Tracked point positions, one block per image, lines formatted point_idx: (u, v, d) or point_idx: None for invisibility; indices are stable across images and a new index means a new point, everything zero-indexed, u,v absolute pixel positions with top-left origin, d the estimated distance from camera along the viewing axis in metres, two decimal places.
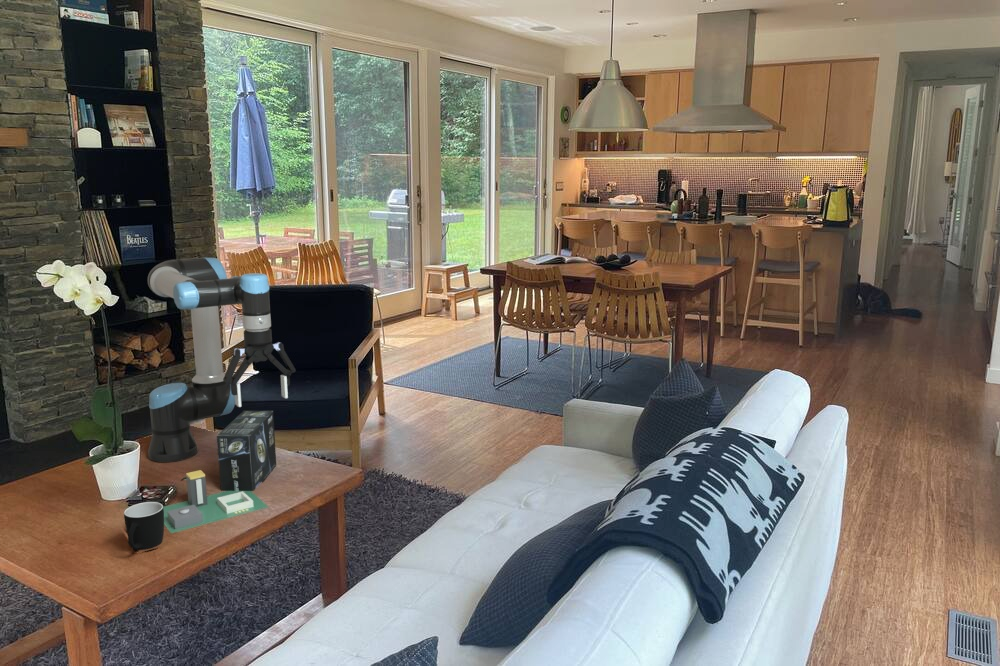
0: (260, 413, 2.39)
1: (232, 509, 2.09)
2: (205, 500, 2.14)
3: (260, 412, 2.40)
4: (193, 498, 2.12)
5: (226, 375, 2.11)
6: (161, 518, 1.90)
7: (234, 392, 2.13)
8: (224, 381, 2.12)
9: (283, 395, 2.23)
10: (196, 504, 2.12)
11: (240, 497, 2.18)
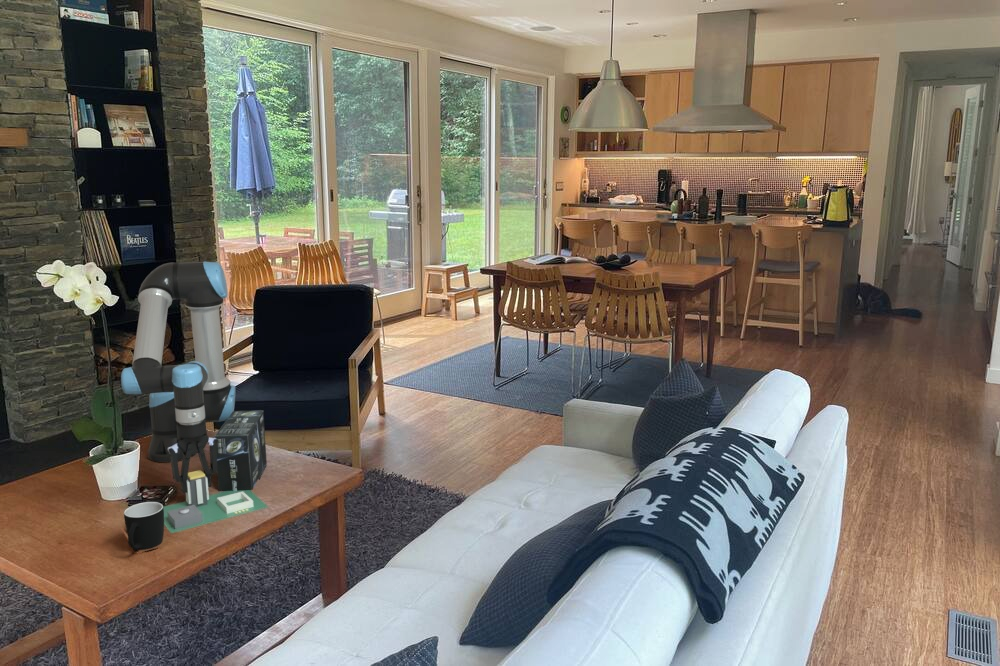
0: (251, 413, 2.39)
1: (232, 509, 2.09)
2: (205, 500, 2.14)
3: (251, 412, 2.40)
4: (193, 498, 2.12)
5: (173, 474, 2.09)
6: (161, 518, 1.90)
7: (184, 490, 2.11)
8: (174, 479, 2.10)
9: None
10: (196, 504, 2.12)
11: (240, 497, 2.18)
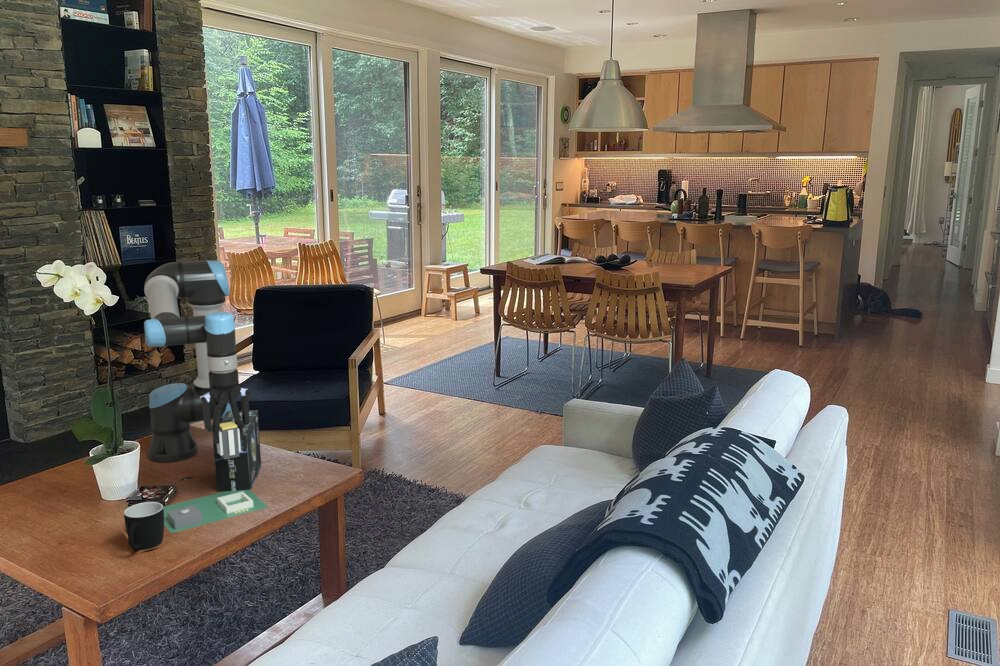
0: None
1: (232, 509, 2.09)
2: (237, 452, 2.10)
3: None
4: (225, 449, 2.08)
5: (205, 424, 2.05)
6: (161, 518, 1.90)
7: (216, 440, 2.07)
8: (206, 429, 2.06)
9: None
10: (228, 455, 2.08)
11: (240, 497, 2.18)
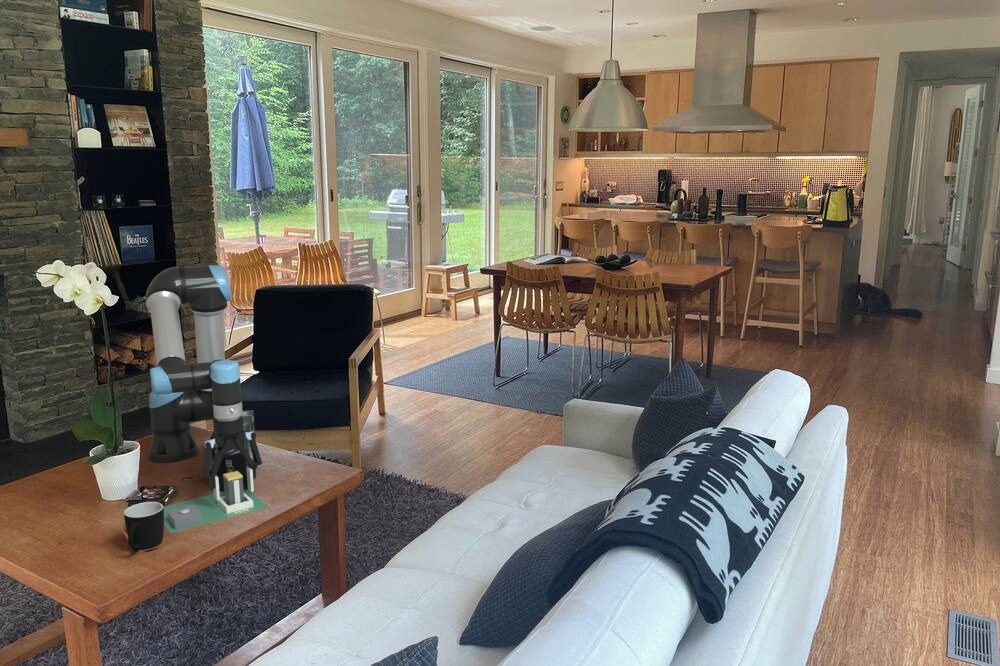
0: None
1: (232, 509, 2.09)
2: (242, 501, 2.13)
3: None
4: (231, 499, 2.11)
5: (203, 469, 2.07)
6: (161, 518, 1.90)
7: (212, 486, 2.08)
8: None
9: (249, 488, 2.16)
10: None
11: None
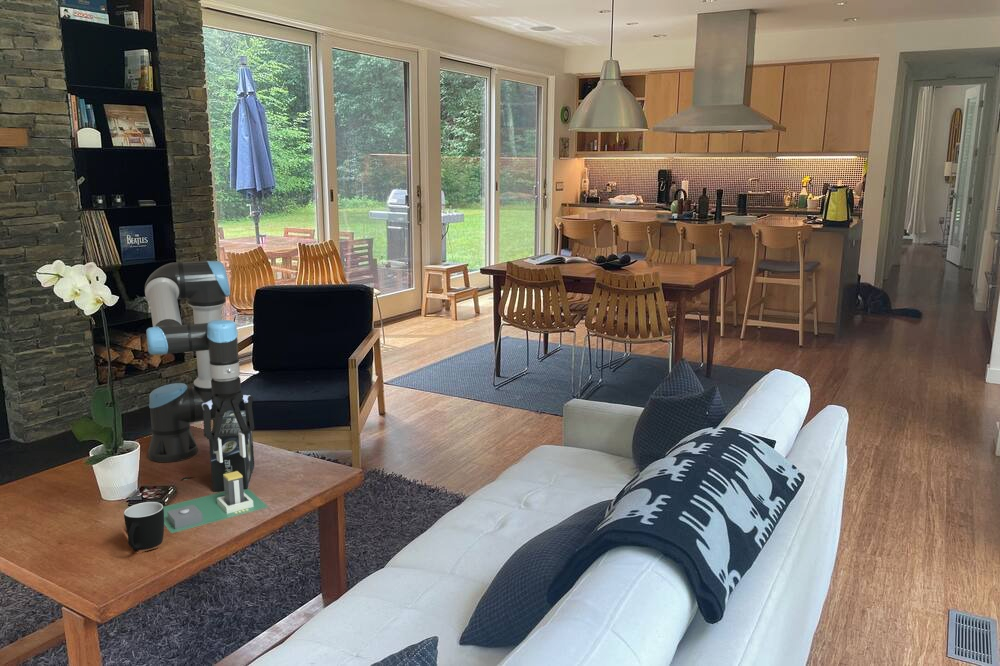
0: None
1: (232, 509, 2.09)
2: (242, 501, 2.13)
3: None
4: (231, 499, 2.11)
5: (205, 431, 2.05)
6: (161, 518, 1.90)
7: (215, 448, 2.07)
8: None
9: (241, 454, 2.13)
10: None
11: None
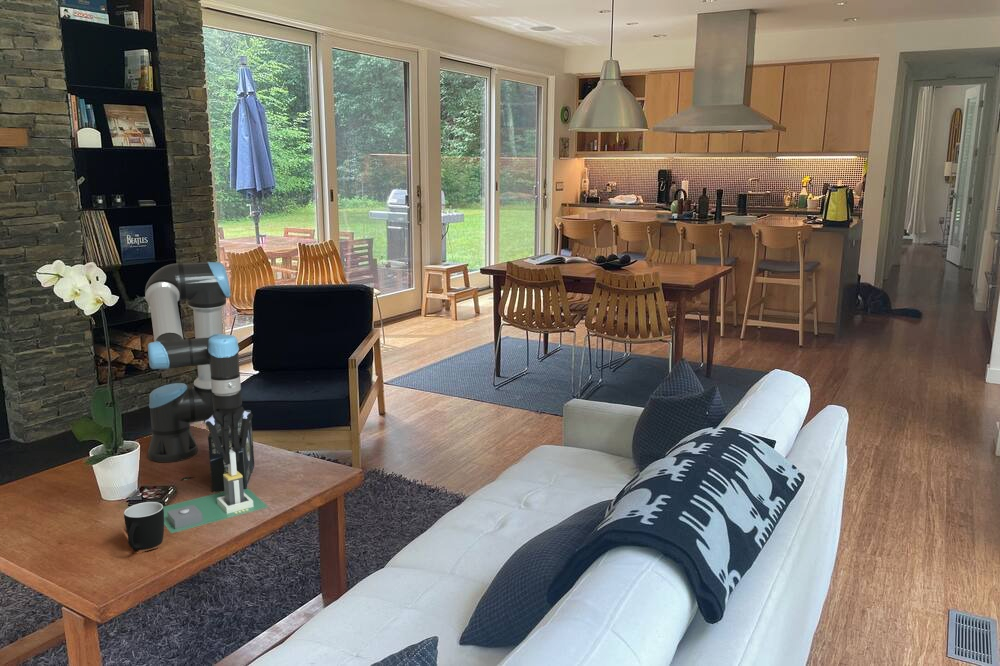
0: None
1: (232, 509, 2.09)
2: (242, 501, 2.13)
3: None
4: (231, 499, 2.11)
5: (215, 446, 2.08)
6: (161, 518, 1.90)
7: (227, 461, 2.10)
8: (217, 450, 2.09)
9: None
10: None
11: None
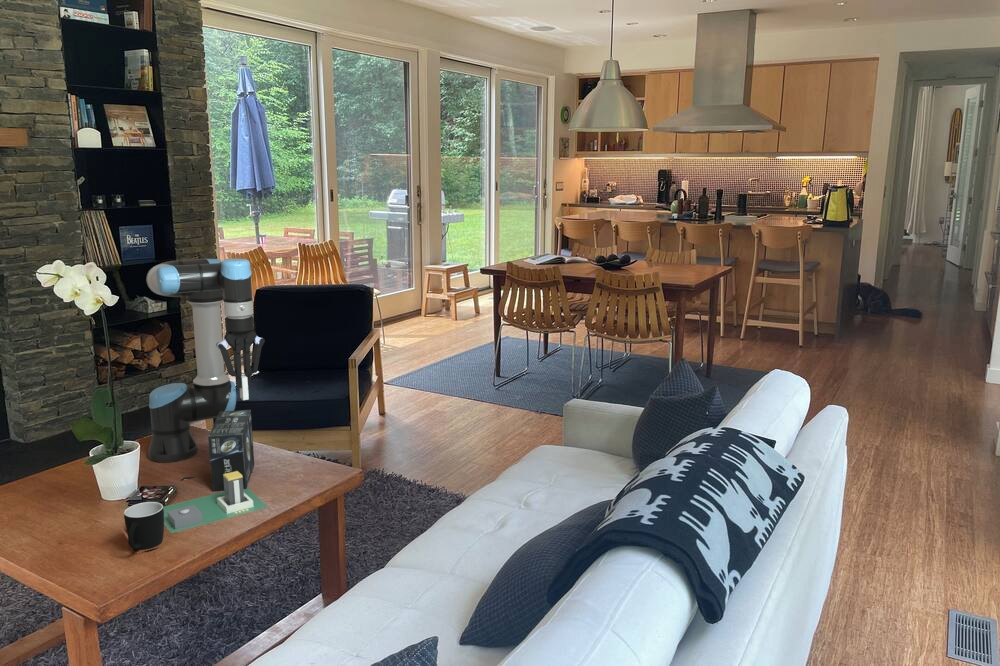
0: (239, 413, 2.39)
1: (232, 509, 2.09)
2: (242, 501, 2.13)
3: (239, 412, 2.40)
4: (231, 499, 2.11)
5: (228, 370, 2.09)
6: (161, 518, 1.90)
7: (239, 385, 2.11)
8: (229, 374, 2.10)
9: None
10: None
11: None
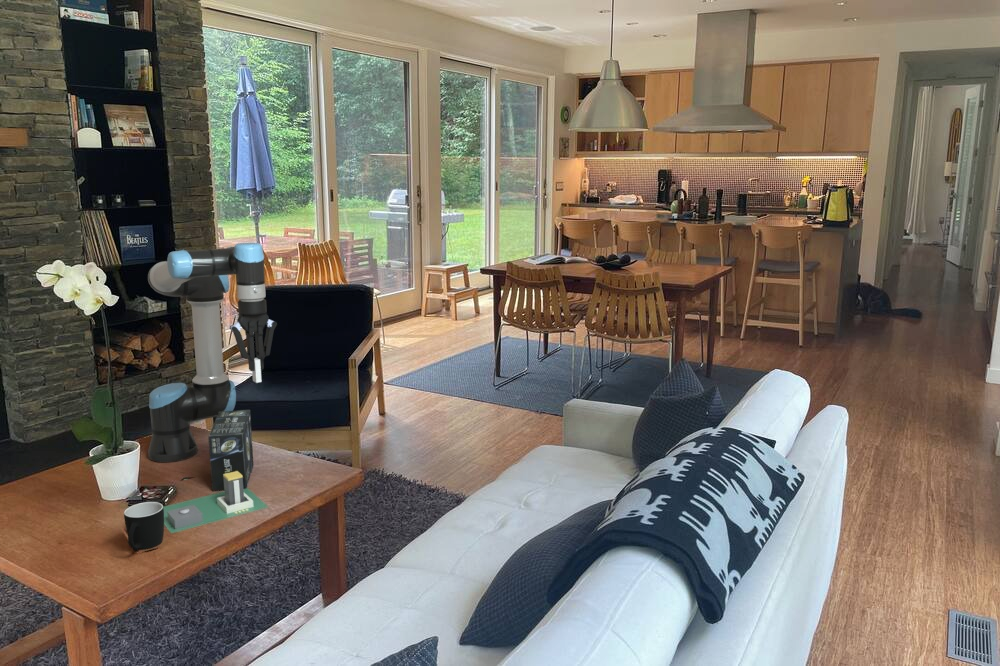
0: (239, 413, 2.39)
1: (232, 509, 2.09)
2: (242, 501, 2.13)
3: (238, 412, 2.40)
4: (231, 499, 2.11)
5: (241, 352, 2.12)
6: (161, 518, 1.90)
7: (252, 368, 2.14)
8: None
9: None
10: None
11: None
